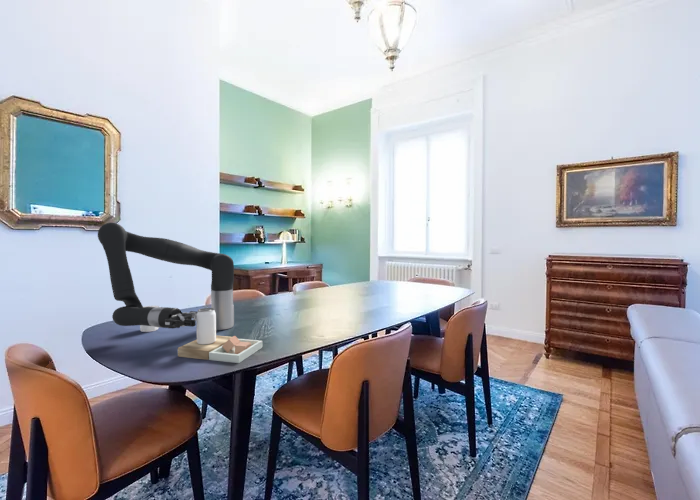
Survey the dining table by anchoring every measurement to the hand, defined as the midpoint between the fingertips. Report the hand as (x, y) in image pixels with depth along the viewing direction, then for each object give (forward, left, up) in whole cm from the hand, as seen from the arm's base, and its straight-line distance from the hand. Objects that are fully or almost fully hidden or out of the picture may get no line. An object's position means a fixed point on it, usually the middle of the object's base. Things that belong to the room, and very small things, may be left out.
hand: (202, 320), depth 123 cm
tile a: (0, +13, -9) cm, 15 cm away
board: (0, +2, -11) cm, 11 cm away
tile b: (0, +16, -8) cm, 18 cm away
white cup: (-16, -39, -11) cm, 44 cm away
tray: (0, +14, -11) cm, 18 cm away
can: (0, +2, -8) cm, 8 cm away
